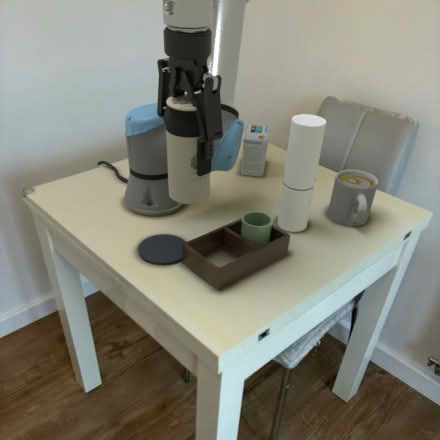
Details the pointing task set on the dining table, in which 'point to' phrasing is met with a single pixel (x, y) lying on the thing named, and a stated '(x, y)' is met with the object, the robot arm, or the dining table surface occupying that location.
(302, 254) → the dining table surface
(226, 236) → the cup holder
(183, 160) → the travel mug
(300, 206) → the cylindrical container
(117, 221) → the dining table surface
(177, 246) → the slate coaster
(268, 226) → the sage cup
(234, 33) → the robot arm
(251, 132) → the light bulb box
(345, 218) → the coffee mug
